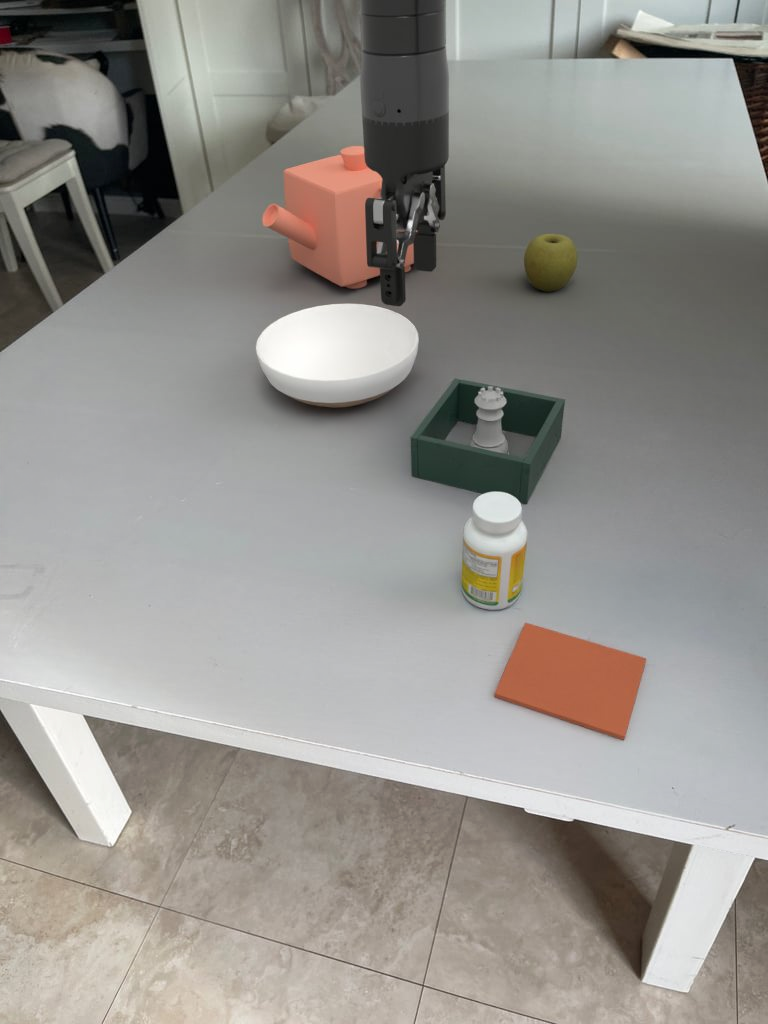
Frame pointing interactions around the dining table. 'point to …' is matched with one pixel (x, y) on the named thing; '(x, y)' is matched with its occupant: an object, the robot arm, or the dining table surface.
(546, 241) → the apple
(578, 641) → the mat
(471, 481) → the holder
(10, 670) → the dining table surface
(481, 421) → the rook chess piece
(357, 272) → the teapot
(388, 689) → the dining table surface
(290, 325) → the bowl
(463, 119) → the dining table surface
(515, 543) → the supplement bottle
